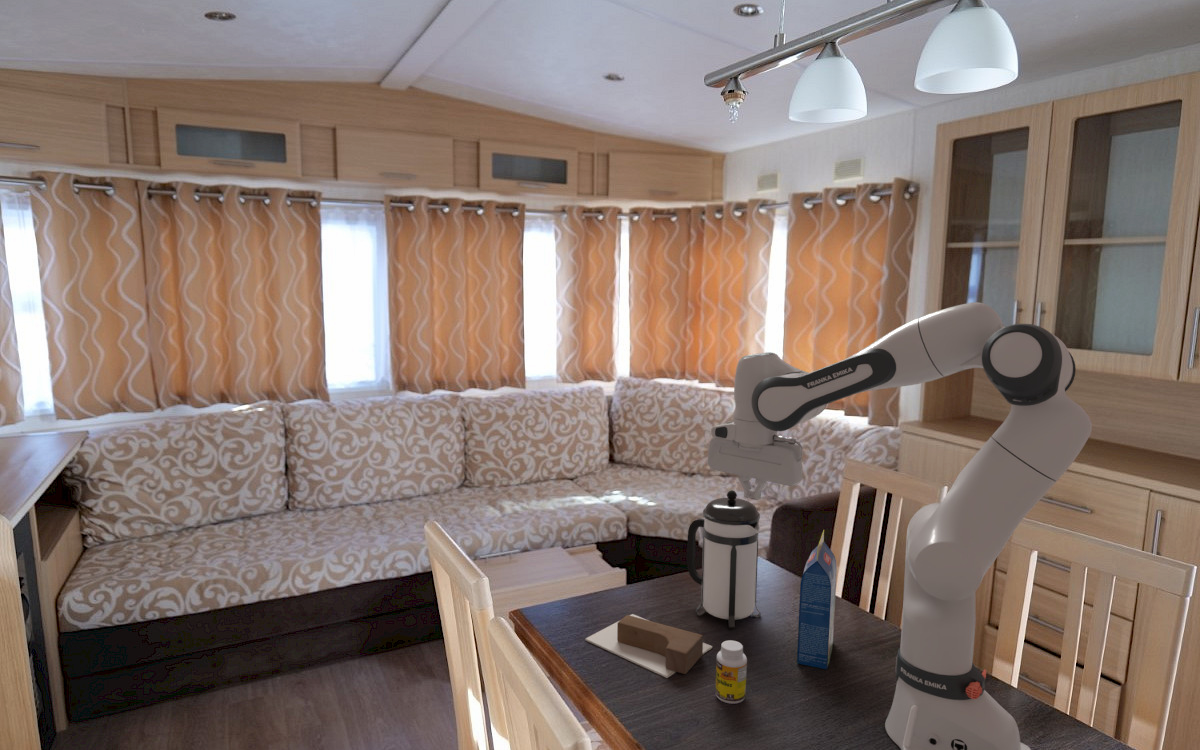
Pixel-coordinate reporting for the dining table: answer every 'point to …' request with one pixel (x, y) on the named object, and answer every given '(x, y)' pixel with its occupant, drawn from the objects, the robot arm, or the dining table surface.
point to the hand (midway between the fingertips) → (752, 498)
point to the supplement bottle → (731, 672)
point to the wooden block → (662, 641)
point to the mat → (633, 650)
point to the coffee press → (727, 558)
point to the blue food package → (817, 608)
